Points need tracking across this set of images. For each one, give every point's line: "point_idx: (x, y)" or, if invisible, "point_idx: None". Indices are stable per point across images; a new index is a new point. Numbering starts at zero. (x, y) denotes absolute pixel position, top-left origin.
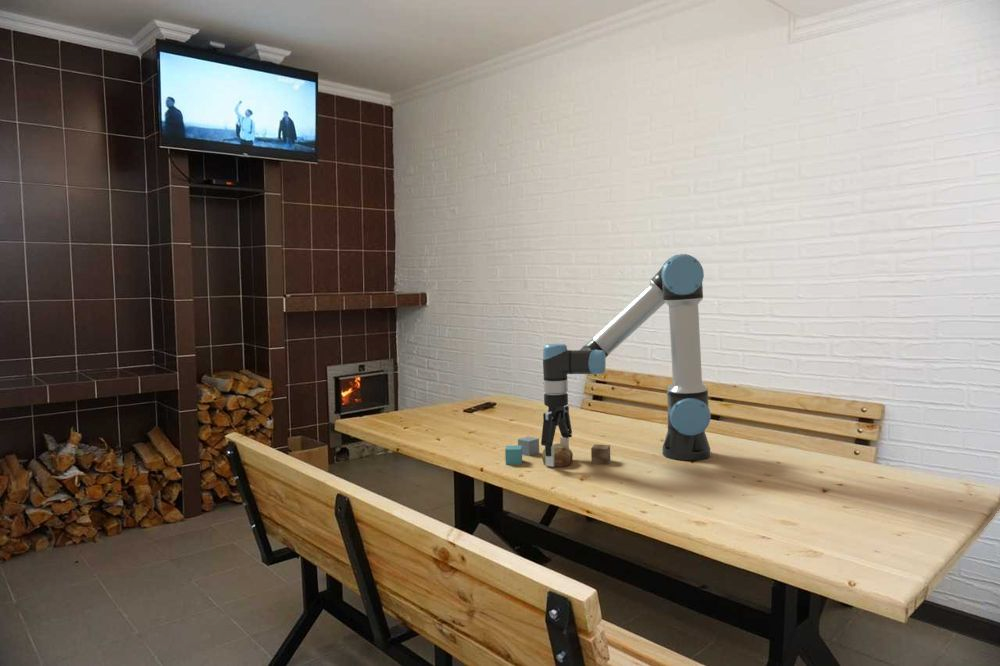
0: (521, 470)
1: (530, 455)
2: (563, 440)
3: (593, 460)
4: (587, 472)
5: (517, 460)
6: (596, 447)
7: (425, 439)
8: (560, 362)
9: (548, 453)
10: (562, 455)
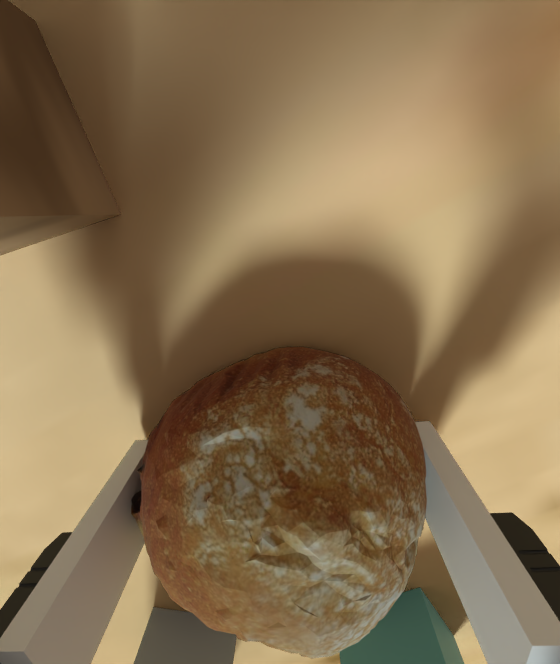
0: (548, 542)
1: None
2: (75, 639)
3: (93, 190)
4: (440, 57)
5: (440, 631)
6: None
7: None
8: None
9: (546, 557)
10: (390, 440)
